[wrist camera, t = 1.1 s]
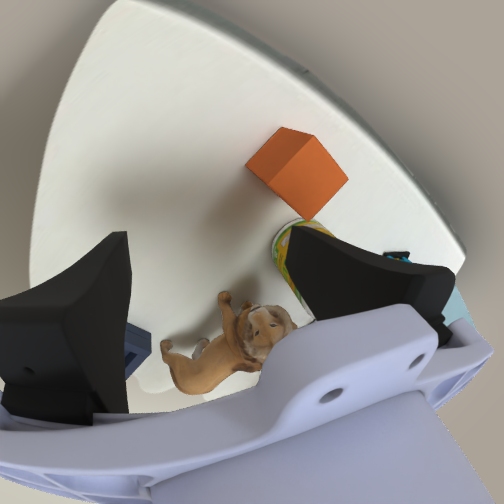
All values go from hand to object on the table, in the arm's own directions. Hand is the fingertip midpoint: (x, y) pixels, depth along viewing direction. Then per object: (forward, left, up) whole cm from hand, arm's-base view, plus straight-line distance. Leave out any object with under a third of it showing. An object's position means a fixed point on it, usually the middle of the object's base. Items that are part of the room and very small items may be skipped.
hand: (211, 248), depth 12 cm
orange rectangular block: (-4, -6, -9) cm, 11 cm away
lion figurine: (-9, +9, -9) cm, 16 cm away
